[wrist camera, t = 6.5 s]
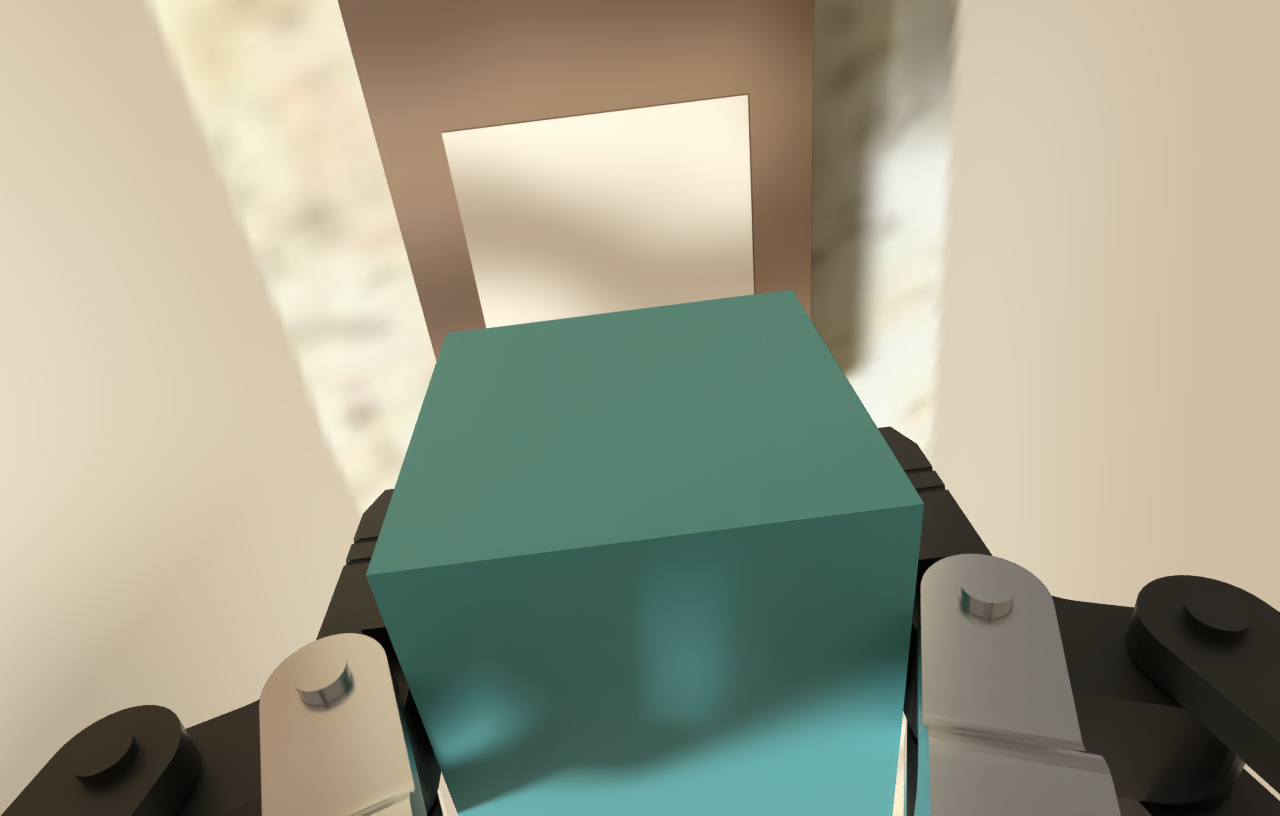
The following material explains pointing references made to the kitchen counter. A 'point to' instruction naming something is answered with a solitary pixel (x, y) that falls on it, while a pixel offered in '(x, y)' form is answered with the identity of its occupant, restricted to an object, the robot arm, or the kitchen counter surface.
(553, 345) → the teal cube
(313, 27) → the kitchen counter surface
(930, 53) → the kitchen counter surface
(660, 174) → the walnut plinth
